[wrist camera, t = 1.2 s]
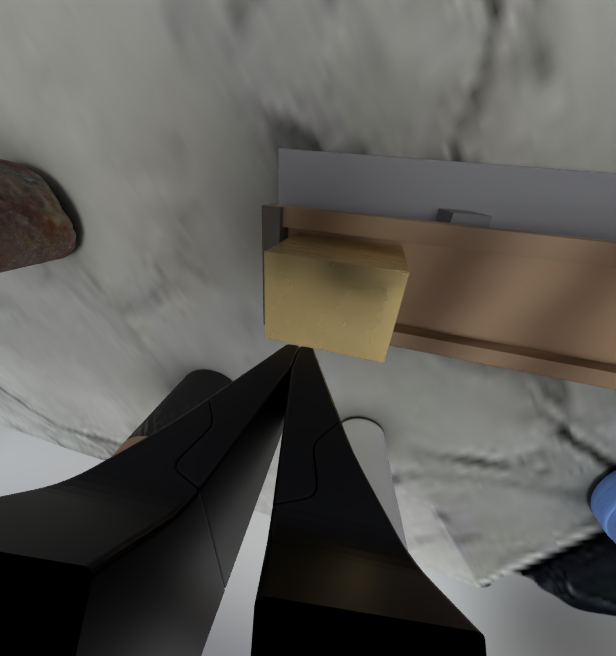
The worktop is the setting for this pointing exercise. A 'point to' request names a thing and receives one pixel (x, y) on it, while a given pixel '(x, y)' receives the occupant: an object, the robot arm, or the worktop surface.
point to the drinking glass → (375, 466)
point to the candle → (30, 220)
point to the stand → (452, 192)
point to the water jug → (606, 504)
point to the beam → (487, 290)
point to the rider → (334, 294)
